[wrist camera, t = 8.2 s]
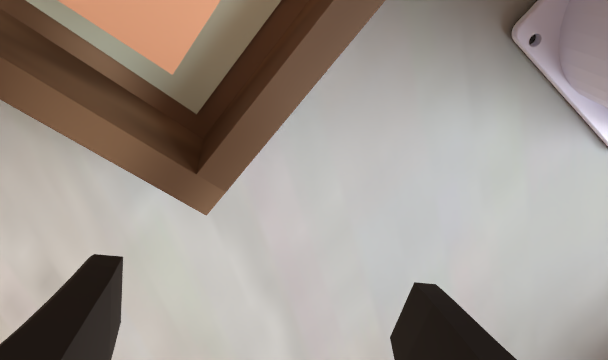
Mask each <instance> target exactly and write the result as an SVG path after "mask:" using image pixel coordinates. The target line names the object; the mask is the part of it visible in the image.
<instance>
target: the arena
mask: <svg viewBox="0 0 608 360" xmlns="http://www.w3.org/2000/svg"><path fill="white" fill-rule="evenodd" d="M384 1H385V0H220V2H219V4H218V5H217V7H216V8H215V10H214V11H213V13H212V14H211V16H210V18H209V19H208V21H207V22H206V24H205V25H204V27H203V28H202V30H201V32H200V33H199V35H198V36H197V38H196V39H195V41H194V42H193V44H192V46H191V47H190V49H189V50H188V52H187V53H186V55H185V56H184V58H183V60H182V61H181V63H180V64H179V66H178V67H177V69H176V70H175V72H174V73H173V75H172V74H170V73H169V72H167V71H166V70H164V69H163V68H161V67H159V66H158V65H156V64H155V63H153V62H152V61H150V60H149V59H147V58H146V57H144V56H143V55H141V54H139V53H138V52H136V51H135V50H133V49H132V48H130V47H129V46H127V45H126V44H124V43H123V42H121V41H119V40H118V39H116V38H115V37H113V36H112V35H110V34H109V33H107V32H106V31H104V30H102V29H101V28H99V27H98V26H96V25H95V24H93V23H92V22H90V21H89V20H87V19H86V18H84V17H82V16H81V15H79V14H78V13H76V12H75V11H73V10H72V9H70V8H69V7H67V6H65V5H64V4H62V3H61V2H59V1H58V0H0V100H2V101H4V102H6V103H8V104H9V105H11V106H13V107H15V108H16V109H18V110H20V111H22V112H24V113H25V114H27V115H29V116H31V117H32V118H34V119H36V120H38V121H39V122H41V123H43V124H45V125H47V126H48V127H50V128H52V129H54V130H55V131H57V132H59V133H61V134H63V135H64V136H66V137H68V138H70V139H71V140H73V141H75V142H77V143H79V144H80V145H82V146H84V147H86V148H87V149H89V150H91V151H93V152H94V153H96V154H98V155H100V156H102V157H103V158H105V159H107V160H109V161H110V162H112V163H114V164H116V165H118V166H119V167H121V168H123V169H125V170H126V171H128V172H130V173H132V174H134V175H135V176H137V177H139V178H141V179H142V180H144V181H146V182H148V183H149V184H151V185H153V186H155V187H157V188H158V189H160V190H162V191H164V192H165V193H167V194H169V195H171V196H173V197H174V198H176V199H178V200H180V201H181V202H183V203H185V204H187V205H189V206H190V207H192V208H194V209H196V210H197V211H199V212H201V213H203V214H204V215H207V214H208V213H209V212H210V211H211V209H212V208H213V207H214V206H215V205H216V203H217V202H218V201H219V200H220V199H221V197H222V196H223V195H224V194H225V193H226V191H227V190H228V189H229V188H230V187H231V185H232V184H233V183H234V182H235V181H236V179H237V178H238V177H239V176H240V175H241V173H242V172H243V171H244V170H245V168H246V167H247V166H248V165H249V164H250V162H251V161H252V160H253V159H254V158H255V156H256V155H257V154H258V153H259V152H260V150H261V149H262V148H263V147H264V146H265V144H266V143H267V142H268V141H269V140H270V138H271V137H272V136H273V135H274V134H275V132H276V131H277V130H278V129H279V128H280V126H281V125H282V124H283V123H284V122H285V120H286V119H287V118H288V117H289V116H290V114H291V113H292V112H293V111H294V110H295V108H296V107H297V106H298V105H299V104H300V102H301V101H302V100H303V99H304V98H305V96H306V95H307V94H308V93H309V92H310V90H311V89H312V88H313V87H314V85H315V84H316V83H317V82H318V81H319V79H320V78H321V77H322V76H323V75H324V73H325V72H326V71H327V70H328V69H329V67H330V66H331V65H332V64H333V63H334V61H335V60H336V59H337V58H338V57H339V55H340V54H341V53H342V52H343V51H344V49H345V48H346V47H347V46H348V45H349V43H350V42H351V41H352V40H353V39H354V37H355V36H356V35H357V34H358V33H359V31H360V30H361V29H362V28H363V27H364V25H365V24H366V23H367V22H368V21H369V19H370V18H371V17H372V16H373V15H374V13H375V12H376V11H377V10H378V9H379V7H380V6H381V5H382V4H383V2H384Z"/></svg>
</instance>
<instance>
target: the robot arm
mask: <svg viewBox="0 0 608 360" xmlns="http://www.w3.org/2000/svg"><path fill="white" fill-rule="evenodd" d="M534 34H535V35H536V38H535V41H534V42H533V43H532V44H530V45H529V39H530V38H531V36H532V35H534ZM512 38H513V40H514V41H515V43H516V44H517V45H518V46H519V47H520V48H521V49H522V50H523V52H524V53H525V54H526V55H527V56H528V57H529V58H530V59H531V61H532V62H533V63H534V64H535V65H536V66H537V67H538V68H539V70H540V71H541V72H542V73H543V74H544V75H545V76H546V77H547V79H548V80H549V81H550V82H551V83H552V84H553V85H554V86H555V88H556V89H557V90H558V91H559V92H560V93H561V94H562V95H563V97H564V98H565V99H566V100H567V101H568V102H569V103H570V104H571V106H572V107H573V108H574V109H575V110H576V111H577V112H578V113H579V115H580V116H581V117H582V118H583V119H584V120H585V121H586V122H587V124H588V125H589V126H590V127H591V128H592V129H593V130H594V131H595V133H596V134H597V135H598V136H599V137H600V138H601V139H602V140H603V142H604V143H605V144H606V145H607V146H608V0H538V1H537V2H536V3H535V4H534V5H533V6H532V7H531V8H530V9H529V10H528V11H527V12H526V13H525V14H524V15H523V16H522V17H521V18H520V19H519V21H518V22H517V23H516V24H515V25H514V27H513V30H512ZM122 271H123V257H120V256H108V255H97V254H94V255H92V256H91V257H89V258H88V259H87V260H86V262H85V263H84V264H83V265H82V266H81V267H80V268H79V269H78V270H77V271H76V272H75V274H74V275H73V276H72V277H71V278H70V279H69V280H68V281H67V282H66V283H65V284H64V285H63V286H62V287H61V288H60V289H59V290H58V291H57V292H56V293H55V294H54V295H53V296H52V297H51V298H50V299H49V300H48V301H47V302H46V303H45V304H44V305H43V306H42V307H41V308H40V309H39V310H38V311H36V312H35V313H34V314H33V315H32V316H31V317H30V318H29V319H28V320H27V321H26V322H25V323H24V324H23V325H22V326H21V327H19V328H18V329H17V330H16V331H15V332H14V333H13V334H11V335H10V336H9V337H8V338H7V339H6V340H5V341H3V342H2V343H1V344H0V360H111V358H112V354H113V350H114V347H115V343H116V339H117V335H118V331H119V327H120V323H121V299H122ZM390 339H391V344H392V349H393V354H394V359H395V360H517V359H516V358H514V357H513V356H512V355H511V354H510V353H509V352H508V351H507V350H506V349H505V348H503V347H502V346H501V345H500V344H499V343H498V342H497V341H496V340H495V339H494V338H493V337H492V336H491V335H489V334H488V333H487V332H486V331H485V330H484V329H483V328H482V327H481V326H480V325H479V324H478V323H477V322H476V321H475V320H474V319H473V318H472V317H471V316H470V315H469V314H467V313H466V312H465V311H464V310H463V309H462V308H461V307H460V306H459V305H458V304H457V303H456V302H455V301H454V300H453V299H452V298H451V297H449V296H448V295H447V294H446V293H445V292H444V291H443V290H442V289H440V288H439V287H438V286H437V285H436V284H426V283H415V282H414V285H413V287H412V289H411V291H410V294H409V296H408V298H407V300H406V303H405V305H404V307H403V309H402V312H401V314H400V316H399V319H398V321H397V323H396V325H395V328H394V330H393V332H392V334H391V337H390Z"/></svg>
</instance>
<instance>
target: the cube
mask: <svg viewBox="0 0 608 360" xmlns="http://www.w3.org/2000/svg"><path fill="white" fill-rule="evenodd" d="M58 1H59V2H61V3H62V4H64V5H65V6H67V7H69V8H70V9H72V10H73V11H75V12H76V13H78V14H79V15H81V16H82V17H84V18H86V19H87V20H89V21H90V22H92V23H93V24H95V25H96V26H98V27H99V28H101V29H102V30H104V31H106V32H107V33H109V34H110V35H112V36H113V37H115V38H116V39H118V40H119V41H121V42H123V43H124V44H126V45H127V46H129V47H130V48H132V49H133V50H135V51H136V52H138V53H139V54H141V55H143V56H144V57H146V58H147V59H149V60H150V61H152V62H153V63H155V64H156V65H158V66H159V67H161V68H163V69H164V70H166V71H167V72H169V73H170V74H172V75H173V73H174V72H175V70H176V69H177V67H178V66H179V64H180V63H181V61H182V60H183V58H184V56H185V55H186V53H187V52H188V50H189V49H190V47H191V46H192V44H193V42H194V41H195V39H196V38H197V36H198V35H199V33H200V32H201V30H202V28H203V27H204V25H205V24H206V22H207V21H208V19H209V18H210V16H211V14H212V13H213V11H214V10H215V8H216V7H217V5H218V4H219V2H220V0H58Z"/></svg>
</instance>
